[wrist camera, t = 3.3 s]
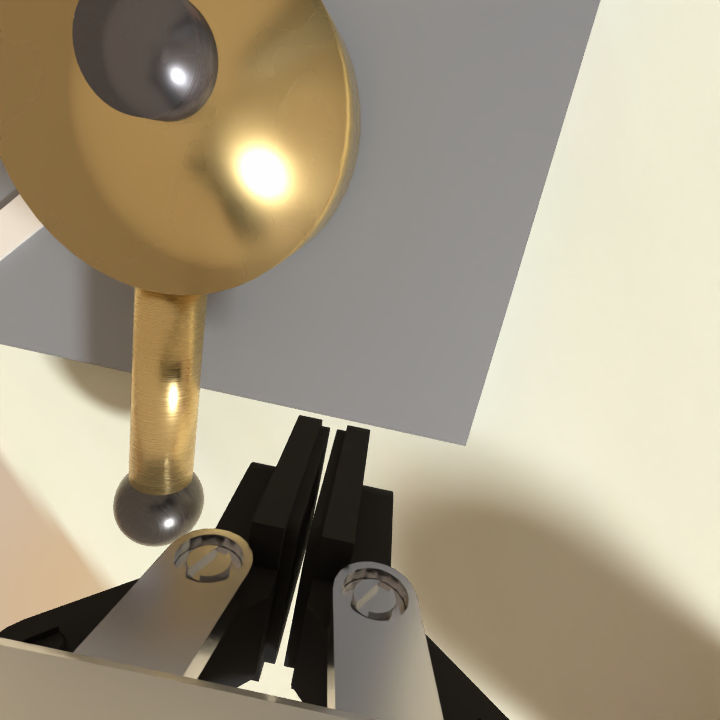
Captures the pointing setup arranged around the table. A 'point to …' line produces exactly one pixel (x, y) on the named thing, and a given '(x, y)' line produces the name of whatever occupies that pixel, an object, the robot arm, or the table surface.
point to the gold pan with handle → (175, 179)
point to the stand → (365, 229)
